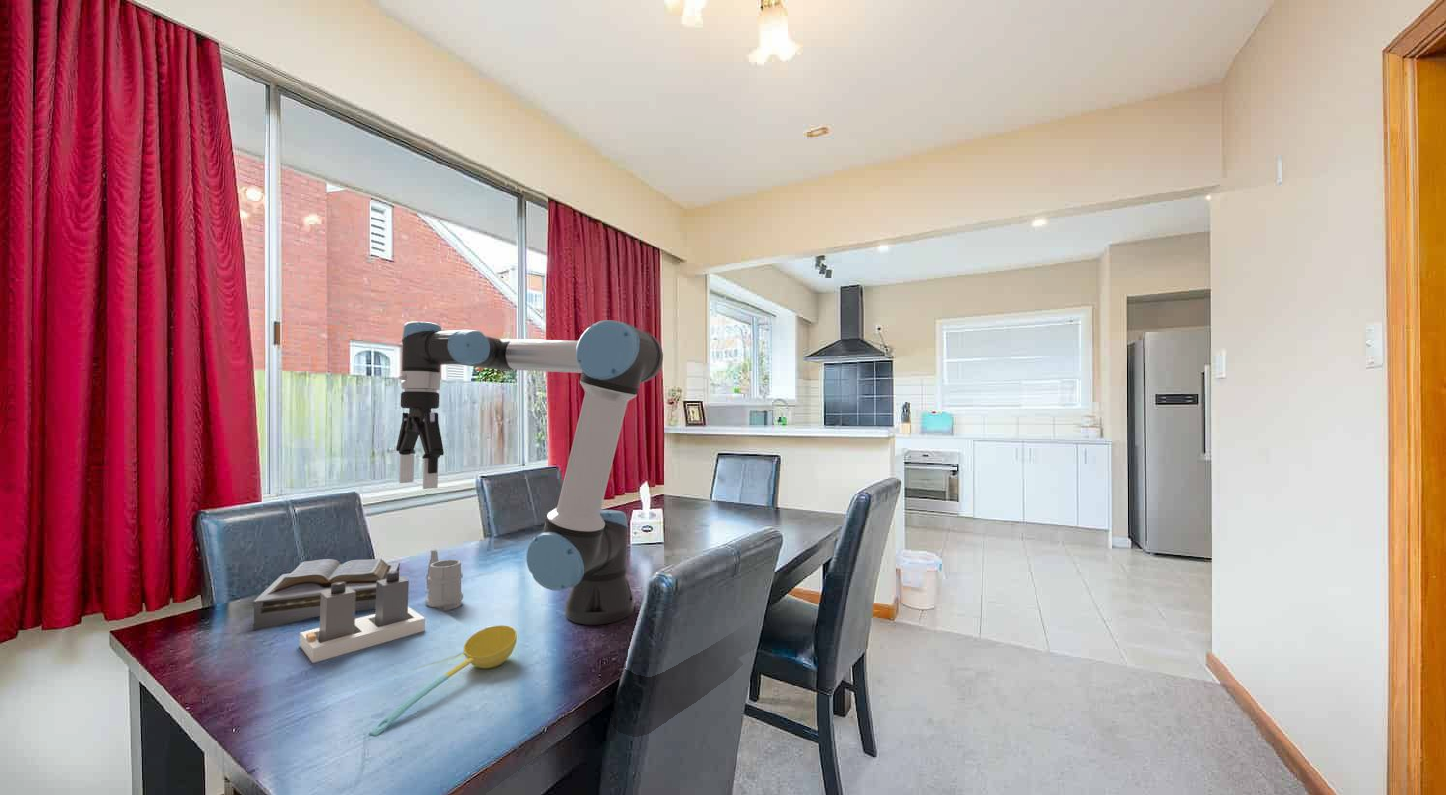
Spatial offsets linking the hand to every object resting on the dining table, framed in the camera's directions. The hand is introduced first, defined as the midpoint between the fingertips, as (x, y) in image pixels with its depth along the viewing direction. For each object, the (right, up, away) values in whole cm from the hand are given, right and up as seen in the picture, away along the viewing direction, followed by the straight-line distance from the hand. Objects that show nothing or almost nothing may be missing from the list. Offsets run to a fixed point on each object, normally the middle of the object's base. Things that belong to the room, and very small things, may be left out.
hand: (417, 485), depth 115 cm
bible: (-22, -29, +4) cm, 37 cm away
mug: (+2, -29, +6) cm, 30 cm away
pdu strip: (-1, -28, -15) cm, 32 cm away
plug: (+2, -27, -12) cm, 30 cm away
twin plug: (-4, -27, -19) cm, 33 cm away
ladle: (+24, -28, -31) cm, 48 cm away
